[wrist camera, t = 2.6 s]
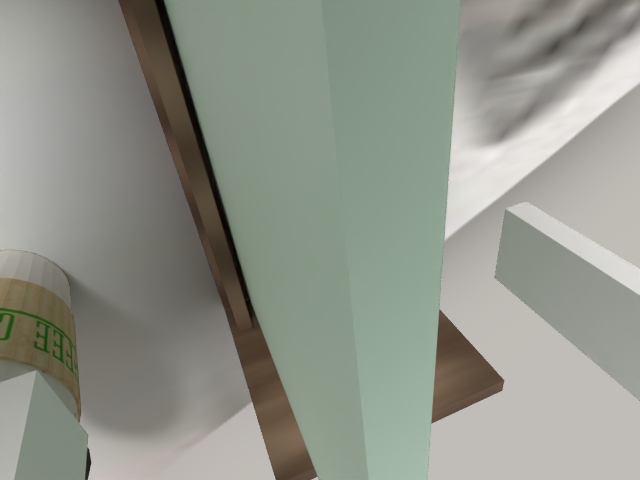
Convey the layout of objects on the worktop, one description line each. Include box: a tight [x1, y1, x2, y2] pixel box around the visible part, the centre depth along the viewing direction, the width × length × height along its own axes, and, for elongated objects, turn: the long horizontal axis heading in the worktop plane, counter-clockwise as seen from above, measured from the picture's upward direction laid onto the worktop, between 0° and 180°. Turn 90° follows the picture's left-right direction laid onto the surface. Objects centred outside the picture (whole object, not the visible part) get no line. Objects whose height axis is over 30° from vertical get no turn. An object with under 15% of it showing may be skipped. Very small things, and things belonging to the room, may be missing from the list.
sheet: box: [161, 0, 461, 480], centre depth 16 cm, size 24×1×22 cm, turn 7°
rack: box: [119, 0, 504, 480], centre depth 21 cm, size 30×14×16 cm, turn 7°
